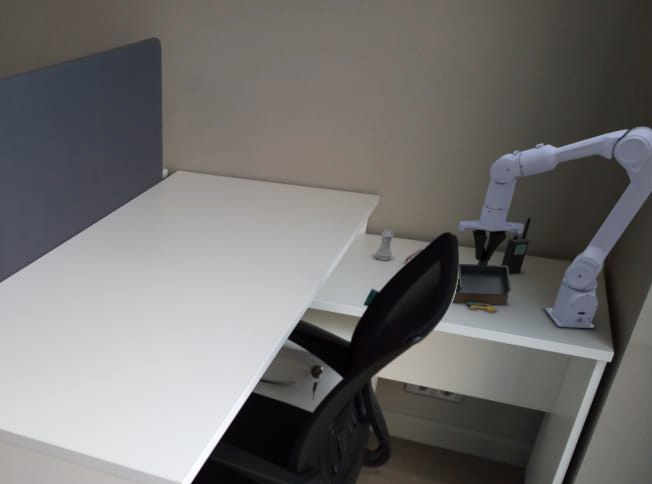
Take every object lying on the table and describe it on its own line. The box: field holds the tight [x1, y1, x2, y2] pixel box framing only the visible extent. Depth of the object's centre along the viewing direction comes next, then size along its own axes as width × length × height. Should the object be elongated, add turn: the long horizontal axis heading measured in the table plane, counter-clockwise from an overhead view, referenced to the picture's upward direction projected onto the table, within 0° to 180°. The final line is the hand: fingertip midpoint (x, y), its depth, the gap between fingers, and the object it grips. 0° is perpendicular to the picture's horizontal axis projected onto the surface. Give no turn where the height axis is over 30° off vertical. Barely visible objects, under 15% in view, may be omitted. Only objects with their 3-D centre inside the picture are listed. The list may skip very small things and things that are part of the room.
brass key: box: [469, 305, 496, 313], centre depth 180 cm, size 6×2×1 cm, turn 67°
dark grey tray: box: [456, 247, 512, 296], centre depth 182 cm, size 11×12×4 cm
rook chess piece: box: [375, 229, 394, 261], centre depth 207 cm, size 4×4×8 cm
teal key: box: [466, 302, 492, 307], centre depth 182 cm, size 5×2×1 cm, turn 84°
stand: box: [452, 292, 509, 305], centre depth 186 cm, size 8×13×2 cm, turn 82°
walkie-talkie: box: [501, 217, 532, 274], centre depth 196 cm, size 5×3×15 cm
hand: (482, 258), depth 183 cm, fingers closed on dark grey tray, 2 cm apart
